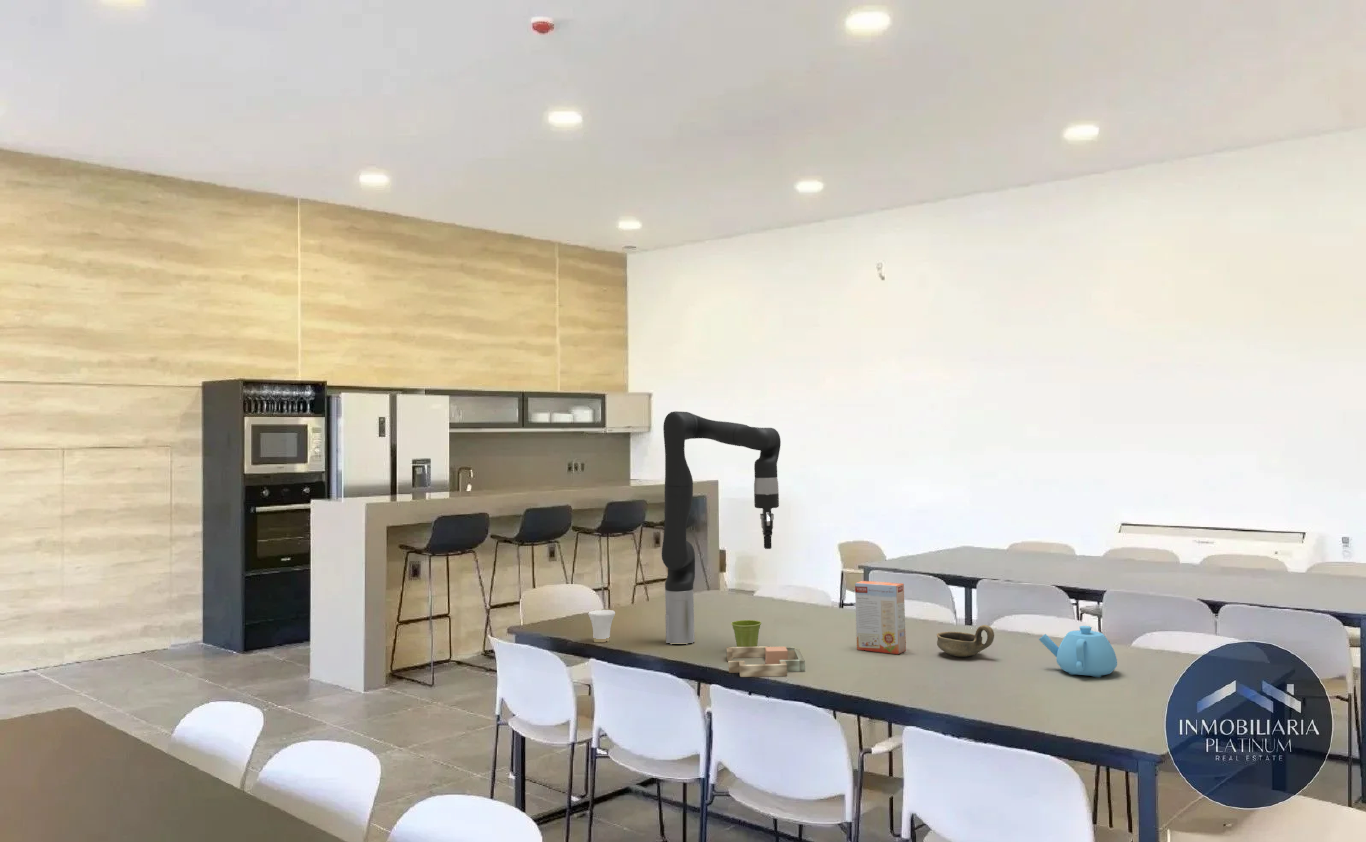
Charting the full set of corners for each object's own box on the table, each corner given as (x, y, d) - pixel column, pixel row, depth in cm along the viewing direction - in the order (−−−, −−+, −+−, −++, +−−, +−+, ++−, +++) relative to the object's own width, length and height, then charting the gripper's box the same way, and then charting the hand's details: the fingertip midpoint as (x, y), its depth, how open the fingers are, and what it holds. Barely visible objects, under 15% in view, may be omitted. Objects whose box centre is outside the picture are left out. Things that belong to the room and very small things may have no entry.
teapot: (1111, 684, 254) (1109, 635, 255) (1031, 675, 265) (1030, 629, 265) (1122, 668, 271) (1121, 622, 271) (1047, 660, 282) (1046, 617, 282)
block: (767, 668, 281) (766, 651, 281) (765, 664, 287) (764, 647, 287) (788, 668, 281) (787, 650, 281) (785, 663, 287) (785, 646, 287)
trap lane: (729, 677, 271) (729, 663, 271) (726, 657, 296) (726, 644, 296) (806, 675, 271) (806, 661, 271) (797, 655, 296) (797, 643, 296)
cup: (583, 643, 321) (583, 613, 321) (596, 638, 329) (596, 608, 330) (607, 645, 317) (607, 614, 318) (620, 639, 326) (619, 609, 326)
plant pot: (741, 655, 298) (741, 626, 298) (726, 649, 307) (725, 622, 307) (767, 651, 303) (767, 623, 303) (751, 646, 311) (751, 618, 311)
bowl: (949, 648, 301) (948, 616, 301) (1003, 656, 289) (1002, 622, 289) (927, 656, 291) (926, 623, 291) (982, 665, 279) (981, 630, 279)
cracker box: (906, 651, 298) (904, 582, 299) (898, 655, 293) (896, 585, 294) (865, 646, 307) (863, 579, 307) (856, 650, 302) (854, 582, 302)
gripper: (753, 491, 308) (754, 546, 308) (755, 493, 295) (756, 551, 295) (776, 490, 308) (778, 546, 308) (780, 493, 295) (781, 550, 294)
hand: (767, 548), depth 301 cm, fingers closed
